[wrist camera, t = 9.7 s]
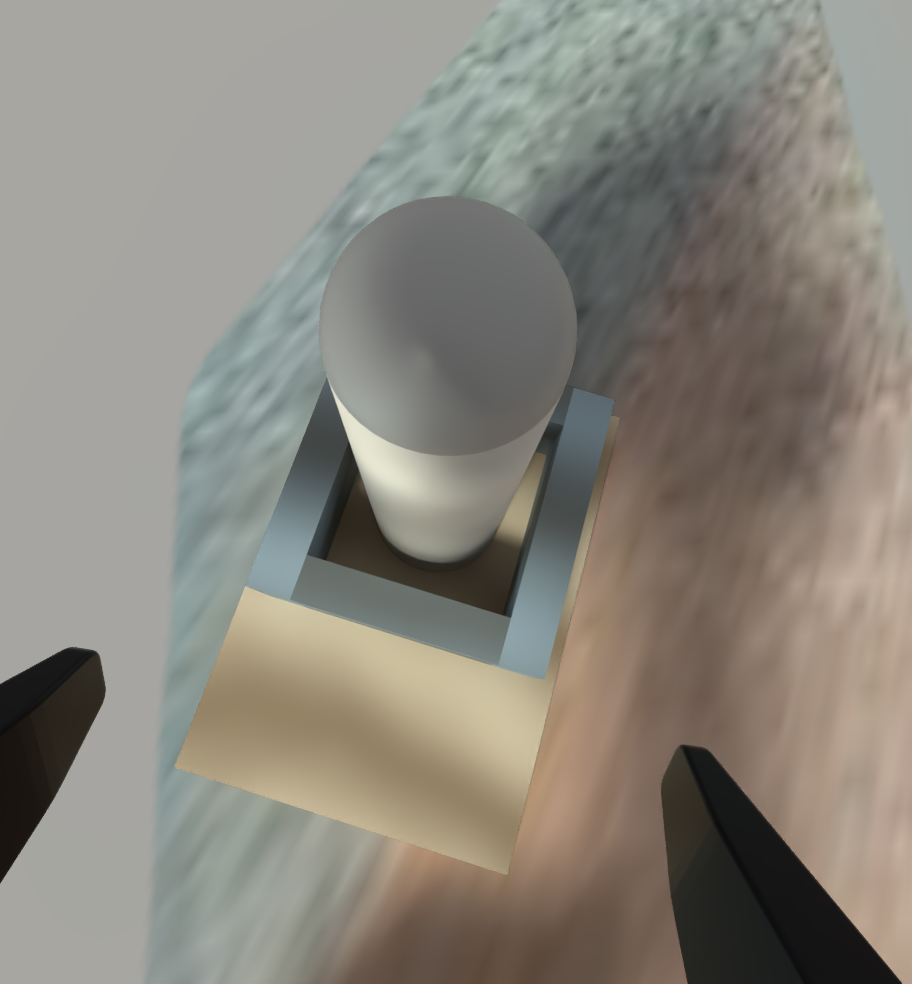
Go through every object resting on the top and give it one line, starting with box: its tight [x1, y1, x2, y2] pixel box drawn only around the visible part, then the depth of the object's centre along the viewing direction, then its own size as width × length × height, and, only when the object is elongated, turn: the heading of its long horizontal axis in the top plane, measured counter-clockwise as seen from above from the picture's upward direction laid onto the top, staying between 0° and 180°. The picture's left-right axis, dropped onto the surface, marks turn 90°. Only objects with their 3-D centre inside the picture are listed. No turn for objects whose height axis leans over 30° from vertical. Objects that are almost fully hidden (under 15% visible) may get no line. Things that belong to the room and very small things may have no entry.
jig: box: [175, 378, 620, 875], centre depth 21 cm, size 16×11×4 cm
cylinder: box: [319, 196, 578, 572], centre depth 16 cm, size 4×4×14 cm
